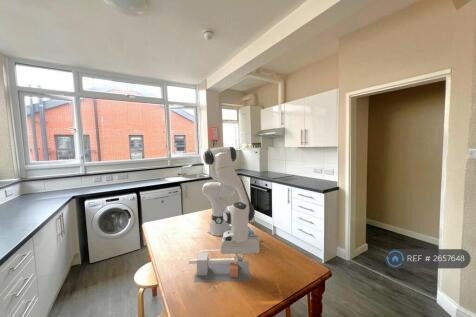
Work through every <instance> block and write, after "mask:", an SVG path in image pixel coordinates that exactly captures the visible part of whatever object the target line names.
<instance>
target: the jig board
mask: <svg viewBox="0 0 476 317" xmlns="http://www.w3.org/2000/svg"><path fill="white" fill-rule="evenodd" d="M196 259H197V264H196V274H195V277H194V281H193V282H194V283H211V282H212V283H215V282H218V283H219V282H222V283H223V282H248V281H249V282H250V281H251V272H250V267H249V266H250V265H249V261H248V260H246V261H245V260H243V261H238V277H230V263H207V259H210V258H209V252H201V253H200V252H199V253H198V255H197V258H196Z"/></svg>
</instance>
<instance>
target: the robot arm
mask: <svg viewBox="0 0 476 317" xmlns="http://www.w3.org/2000/svg"><path fill="white" fill-rule="evenodd" d="M202 159H203V162H204V163H205V164H206V165H208V166H210V176H211V179H213V180H214V181H210V182H205V183H204V184H203V185H202V188H201V192H202V194H203V195H204V196H205V197H206V198H207V199H208V201H209V202H210V204H211V217H210V218H211V219H210V221H209V228H208V229H207V230H206V231H207V232H206V233H208V234H210V235H212V236H216V237H218V236H222V239H221V243H220V249H221V251H220V253H221V254H222V255H235V256H236V257H237V261H244V257H245V256H246V254H259V253H260V242H261V237H260V235H258V234H255V233H254V234H255V235H252V234H249V229H248V227H249V222H251V221H252V220H253V218H254V217H255V215H256V211H255V208H254V205H253V204H252V202H251V200H250V197H249V194H248V191H247V188H246V186H245V184H244V182H243V179H242V178H241V177H240V176H238V174H237V172H236V170H235V166H234V162H235V161H236V160H237V150H236V148H235V147H234V146H219V147H213V148H207V149H205V150H204V151H203V154H202ZM236 191H237V193H238V196H239V199H240V201H239V202H234V203H232V204H231V205H227V203H226V202H225V201H224V200H221V199H220V198H219V197H232V196H234V195H235V193H236ZM230 226H232V228H231V230H229V227H230ZM239 254H242V255H241V256H239Z"/></svg>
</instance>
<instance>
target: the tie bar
mask: <svg viewBox="0 0 476 317" xmlns="http://www.w3.org/2000/svg"><path fill="white" fill-rule="evenodd" d="M188 260H189V261H188V264H190V265H191V264H192V265H193V264H194V265H197V258H190V259H188ZM207 263H234V264H237V257H236V256H235V254H233V257H229V258H209V259H207Z"/></svg>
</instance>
